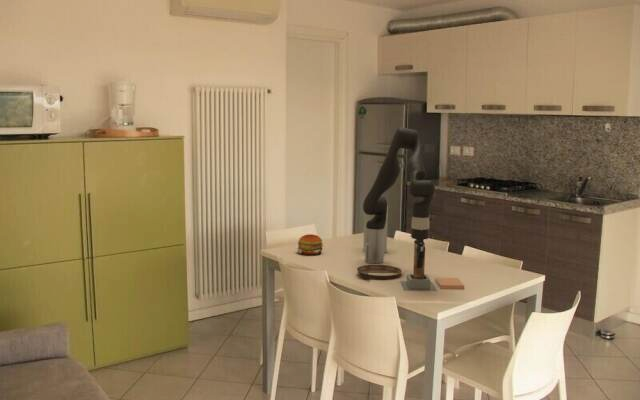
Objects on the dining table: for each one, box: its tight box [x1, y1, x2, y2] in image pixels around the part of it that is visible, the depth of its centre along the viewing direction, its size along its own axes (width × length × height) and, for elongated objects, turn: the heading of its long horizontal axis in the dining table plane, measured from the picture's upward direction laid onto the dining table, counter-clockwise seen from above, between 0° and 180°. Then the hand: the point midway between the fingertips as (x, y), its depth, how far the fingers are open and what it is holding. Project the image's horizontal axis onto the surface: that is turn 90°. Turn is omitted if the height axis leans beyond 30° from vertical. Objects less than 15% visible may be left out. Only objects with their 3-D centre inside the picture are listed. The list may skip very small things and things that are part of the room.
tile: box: [434, 277, 465, 290], centre depth 261 cm, size 10×3×12 cm
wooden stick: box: [412, 244, 426, 279], centre depth 257 cm, size 4×4×16 cm
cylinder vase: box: [363, 205, 389, 254], centre depth 324 cm, size 12×12×25 cm
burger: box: [297, 234, 324, 256], centre depth 320 cm, size 14×14×10 cm
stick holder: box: [399, 273, 438, 292], centre depth 258 cm, size 14×14×5 cm
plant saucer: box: [356, 264, 403, 280], centre depth 278 cm, size 21×21×3 cm
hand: (418, 266), depth 258 cm, fingers closed on wooden stick, 4 cm apart
